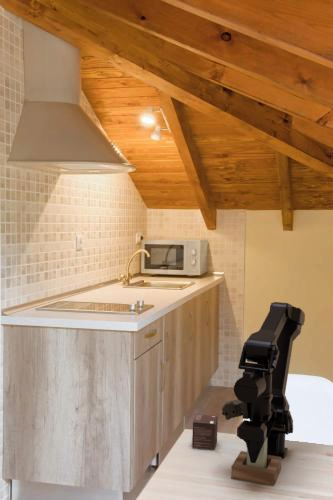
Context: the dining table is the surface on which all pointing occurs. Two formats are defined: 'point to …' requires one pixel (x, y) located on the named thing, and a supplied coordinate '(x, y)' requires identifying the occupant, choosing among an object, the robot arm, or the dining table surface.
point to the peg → (259, 457)
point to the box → (204, 432)
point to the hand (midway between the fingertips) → (257, 455)
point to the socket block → (256, 470)
